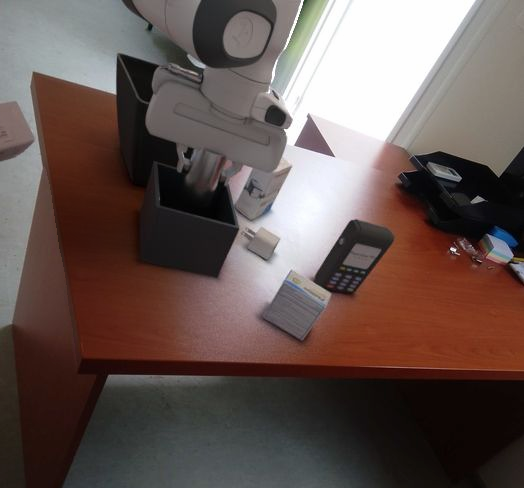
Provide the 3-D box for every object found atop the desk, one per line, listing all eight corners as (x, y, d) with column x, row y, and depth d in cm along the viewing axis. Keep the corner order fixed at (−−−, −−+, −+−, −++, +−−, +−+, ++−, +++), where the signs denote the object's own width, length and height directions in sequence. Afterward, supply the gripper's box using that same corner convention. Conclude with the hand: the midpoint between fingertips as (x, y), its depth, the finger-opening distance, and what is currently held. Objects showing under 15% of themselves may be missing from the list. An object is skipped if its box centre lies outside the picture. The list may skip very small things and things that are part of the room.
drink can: (180, 202, 71) (198, 148, 65) (178, 184, 74) (194, 131, 68) (211, 210, 73) (231, 159, 67) (208, 192, 76) (227, 142, 70)
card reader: (316, 291, 89) (358, 229, 79) (310, 277, 91) (350, 215, 81) (354, 297, 93) (398, 239, 83) (347, 284, 96) (389, 226, 86)
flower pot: (100, 136, 93) (116, 48, 82) (187, 155, 103) (211, 79, 92) (118, 192, 83) (139, 100, 72) (212, 206, 93) (242, 128, 82)
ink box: (253, 198, 103) (275, 150, 95) (271, 211, 102) (294, 164, 94) (233, 207, 96) (255, 157, 89) (252, 221, 96) (275, 172, 88)
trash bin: (140, 261, 73) (156, 206, 66) (139, 213, 81) (153, 160, 74) (217, 277, 79) (239, 228, 72) (209, 231, 87) (228, 183, 80)
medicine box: (308, 328, 80) (333, 293, 74) (301, 342, 77) (327, 307, 71) (269, 304, 80) (291, 267, 74) (261, 318, 77) (283, 280, 71)
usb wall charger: (266, 261, 88) (275, 245, 86) (235, 242, 88) (243, 226, 86) (272, 252, 91) (281, 237, 89) (243, 234, 91) (251, 218, 89)
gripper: (158, 66, 56) (134, 168, 65) (303, 123, 64) (263, 206, 73) (157, 48, 59) (134, 146, 69) (293, 104, 68) (257, 184, 77)
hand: (202, 177), depth 71 cm, fingers closed on drink can, 5 cm apart
